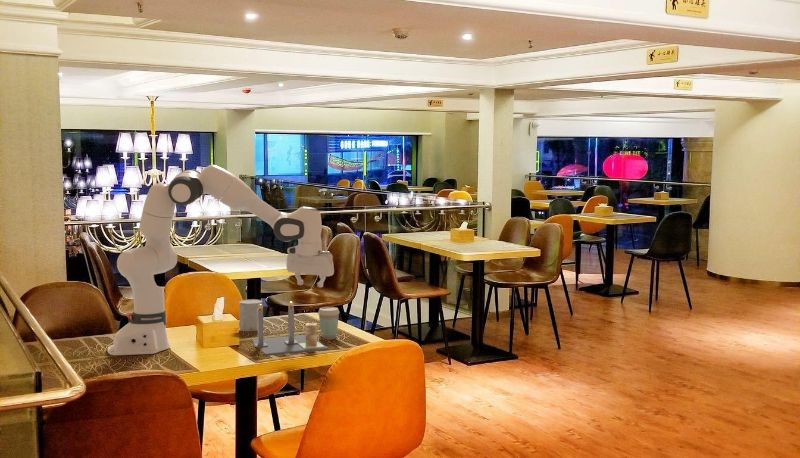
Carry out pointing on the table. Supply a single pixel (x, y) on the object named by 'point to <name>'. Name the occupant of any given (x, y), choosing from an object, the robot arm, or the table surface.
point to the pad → (311, 346)
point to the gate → (290, 326)
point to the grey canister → (249, 314)
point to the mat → (285, 345)
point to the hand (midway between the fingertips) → (310, 285)
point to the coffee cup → (328, 322)
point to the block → (311, 334)
